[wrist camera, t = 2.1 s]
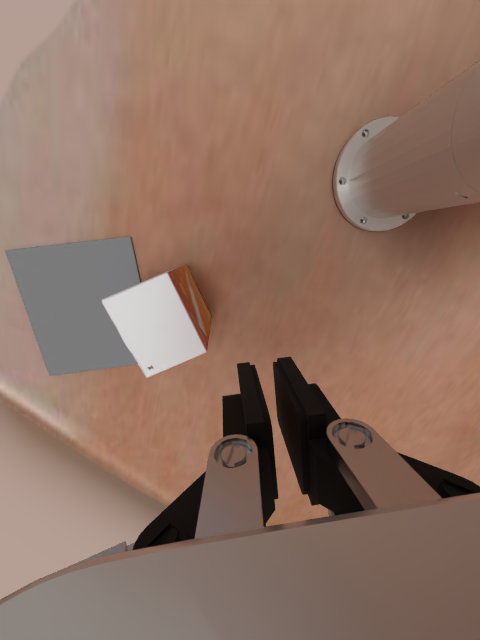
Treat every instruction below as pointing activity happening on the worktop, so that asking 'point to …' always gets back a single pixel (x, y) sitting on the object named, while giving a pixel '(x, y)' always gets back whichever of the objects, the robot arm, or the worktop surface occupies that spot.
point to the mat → (76, 301)
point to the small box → (161, 320)
